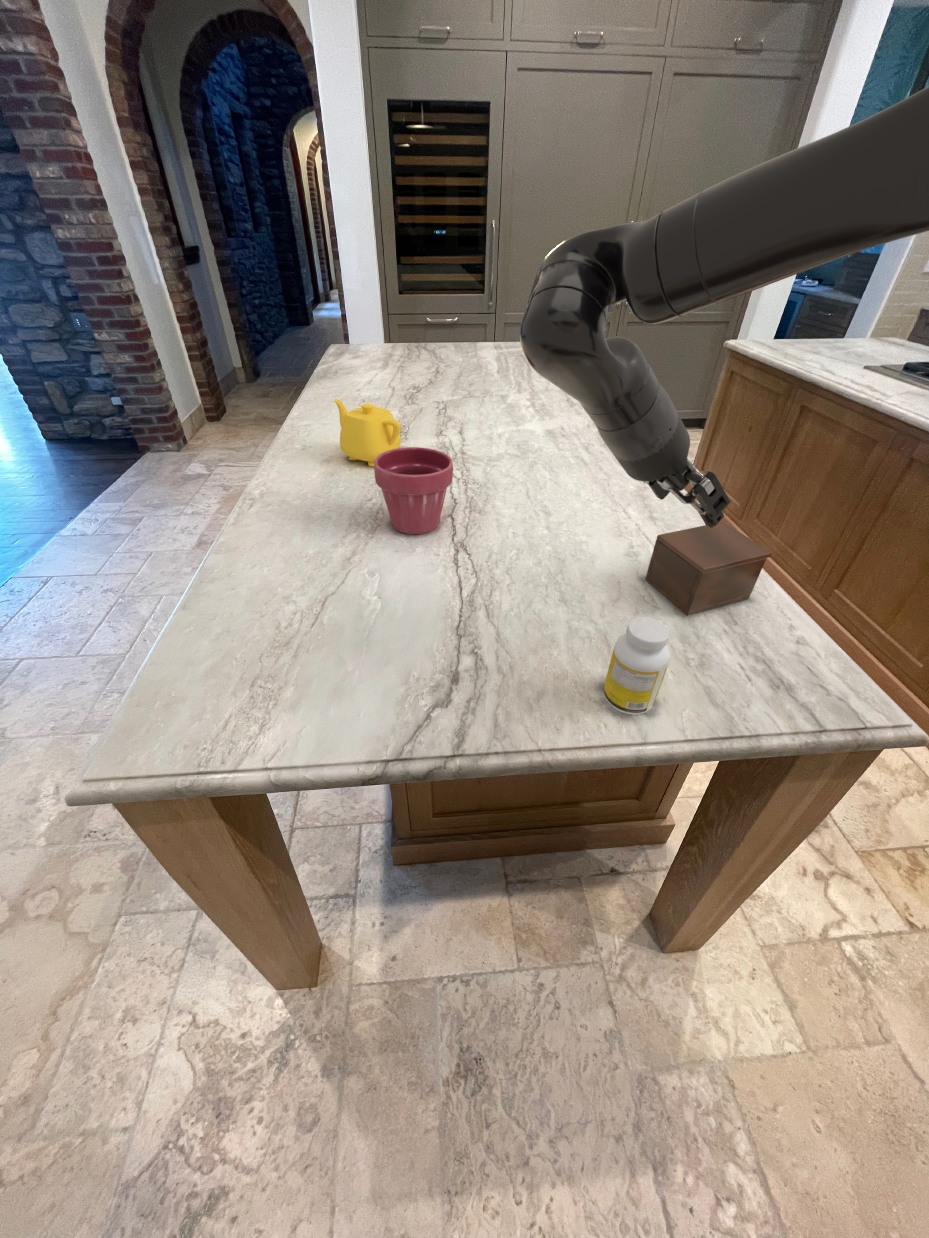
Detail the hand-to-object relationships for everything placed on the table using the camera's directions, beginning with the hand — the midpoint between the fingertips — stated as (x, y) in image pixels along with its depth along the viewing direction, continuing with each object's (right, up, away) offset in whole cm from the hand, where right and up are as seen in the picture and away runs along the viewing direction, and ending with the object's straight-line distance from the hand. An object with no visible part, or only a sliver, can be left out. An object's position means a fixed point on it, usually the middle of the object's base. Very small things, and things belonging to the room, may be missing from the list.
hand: (689, 506), depth 69 cm
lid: (+10, -3, +16) cm, 19 cm away
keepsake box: (+10, -10, +20) cm, 24 cm away
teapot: (-52, +25, +62) cm, 85 cm away
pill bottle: (-8, -25, +1) cm, 26 cm away
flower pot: (-38, +4, +36) cm, 53 cm away
